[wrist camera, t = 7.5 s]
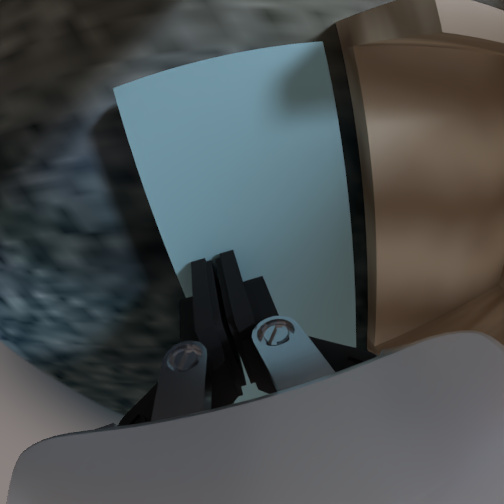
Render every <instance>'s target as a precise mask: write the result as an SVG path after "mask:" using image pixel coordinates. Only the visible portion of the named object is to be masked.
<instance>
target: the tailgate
mask: <svg viewBox="0 0 504 504" xmlns="http://www.w3.org/2000/svg"><path fill="white" fill-rule="evenodd" d="M113 90H114V94H115V98H116V101H117V105H118V108H119V112H120V115H121V118H122V122H123V125H124V128H125V132H126V135H127V138H128V141H129V145H130V148H131V151H132V154H133V157H134V160H135V163H136V166H137V169H138V172H139V175H140V178H141V181H142V184H143V187H144V190H145V193H146V196H147V199H148V201H149V204H150V207H151V210H152V213H153V215H154V218H155V221H156V223H157V226H158V229H159V231H160V234H161V237H162V239H163V242H164V245H165V247H166V250H167V252H168V255H169V257H170V260H171V263H172V265H173V268H174V270H175V273H176V275H177V277H178V280H179V282H180V285H181V287H182V290H183V292H184V294H185V297H186V298H188V297H192V296H193V294H192V275H191V262H193V261H196V260H200V259H203V258H205V259H206V261H209V260H211V261H212V263H213V266H214V269H215V272H216V275H217V278H218V281H219V277H218V271H217V266H216V260H215V259H216V258H220V253H223V252H227V251H230V250H234V254H235V257H236V260H237V264H238V267H239V270H240V273H241V277H242V280H243V281H247V280H250V279H253V278H257V277H260V276H263V278H264V280H265V283H266V285H267V288H268V290H269V293H270V295H271V297H272V300H273V302H274V305H275V307H276V309H277V312H278V314H279V316H280V315H281V316H288V317H290V318H293V319H294V320H295V321H296V322H298V324H299V325H300V326H301V328H302V329H303V330H304V332H305V333H306V334H307V336H311V337H314V338H318V339H322V340H326V341H330V342H334V343H338V344H342V345H346V346H350V347H355V348H356V303H355V277H354V258H353V243H352V230H351V218H350V208H349V198H348V189H347V180H346V172H345V164H344V156H343V149H342V142H341V135H340V129H339V122H338V116H337V110H336V105H335V99H334V94H333V88H332V83H331V78H330V73H329V68H328V63H327V59H326V54H325V50H324V45H323V41H320V42H309V43H299V44H290V45H282V46H275V47H268V48H262V49H256V50H250V51H244V52H239V53H234V54H229V55H224V56H220V57H215V58H211V59H207V60H202V61H198V62H195V63H191V64H187V65H183V66H180V67H176V68H172V69H169V70H166V71H162V72H159V73H156V74H153V75H150V76H147V77H144V78H141V79H138V80H135V81H132V82H129V83H126V84H123V85H121V86H118V87H115V88H113ZM219 284H220V282H219ZM240 358H241V357H240ZM241 363H242V367H243V371H244V376H245V380H246V385H245V386H241V388H242V392H243V395H242V396H238V398H237V399H236V400H235V401H234V403H239V402H243V401H247V400H250V399H254V398H258V397H261V396H265V395H268V393H265V392H263V391H260V390H258V388H257V385H256V383H252V384H251V383H250V380H249V378H248V375H247V373H246V370H245V367H244V365H243V362H242V360H241Z"/></svg>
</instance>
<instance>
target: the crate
mask: <svg viewBox="0 0 504 504" xmlns="http://www.w3.org/2000/svg"><path fill="white" fill-rule="evenodd" d="M335 23H336V27H337V31H338V35H339V40H340V44H341V48H342V53H343V58H344V63H345V68H346V73H347V78H348V83H349V89H350V94H351V100H352V106H353V113H354V119H355V126H356V133H357V141H358V148H359V157H360V166H361V175H362V185H363V197H364V209H365V224H366V243H367V272H368V328H367V349H368V351H369V352H372V353H374V354H380V353H381V350H382V349H387V348H391V347H396V346H400V345H405V344H409V343H412V342H415V341H418V340H421V339H424V338H427V337H430V336H434V335H438V334H442V333H447V332H454V331H465V330H470V331H479V332H483V333H485V334H487V335H489V336H491V337H493V338H494V339H496V340H497V341H498V342H500V343H501V344H502V345H503V346H504V11H503V10H500V9H497V8H495V7H492V6H489V5H486V4H482V3H479V2H476V1H472V0H396V1H393V2H390V3H387V4H384V5H381V6H378V7H375V8H372V9H369V10H366V11H364V12H361V13H358V14H356V15H353V16H350V17H348V18H345V19H343V20H340V21H338V22H335Z"/></svg>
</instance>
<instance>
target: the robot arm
mask: <svg viewBox="0 0 504 504" xmlns="http://www.w3.org/2000/svg"><path fill="white" fill-rule="evenodd" d="M215 260H216V266H217V271H218V277H219V281H218V278H217V275H216V272H215V269H214V266H213V263H212V261H211V260H209V261H206V259H205V258H203V259H200V260H196V261H193V262H191V275H192V294H193V296H192V297H188V298H185V299H181V300H180V343H178V344H176V345H174V346H173V347H172V348H170V349H169V350H168V351H167V353H166V354H165V356H164V358H163V361H162V366H161V371H160V376H159V381H158V383H157V384H156V385H155V386H154V387H153V388H152V389H151V390H150V391H149V392H148V393H147V394H146V395H145V396H144V397H143V398H142V399H141V400H140V401H139V402H138V403H137V404H136V405H135V406H134V407H133V408H132V409H131V410H130V411H129V412H128V413H127V414H126V415H125V416H124V417H123V418H122V420H121V421H120V423H119V425H117V426H116V425H115V424H114V423H112V424H109V425H106V426H104V427H101V428H98V429H95V430H88V431H81V432H74V433H67V434H62V435H58V436H53V437H50V438H47V439H44V440H42V441H40V442H37V443H35V444H33V445H32V446H30V447H29V448H27V449H26V450H25V451H23V453H22V454H21V455H20V456H19V458H18V460H17V462H16V465H15V467H14V470H13V473H12V477H11V481H10V485H9V490H8V496H7V502H6V504H504V346H503V345H502V344H501V343H500V342H498V341H497V340H496V339H494V338H493V337H491V336H489V335H487V334H485V333H483V332H479V331H470V330H465V331H454V332H447V333H442V334H438V335H434V336H430V337H427V338H424V339H421V340H418V341H415V342H412V343H409V344H405V345H400V346H396V347H391V348H387V349H382V350H381V353H380V354H374V353H372V352H369V351H367V350H363V349H359V348H355V347H350V346H346V345H342V344H338V343H334V342H330V341H326V340H322V339H318V338H314V337H311V336H307V334H306V333H305V332H304V330H303V329H302V328H301V326H300V325H299V324H298V322H296V321H295V320H294V319H293V318H290V317H288V316H281V315H280V316H279V314H278V312H277V309H276V307H275V305H274V302H273V300H272V297H271V295H270V293H269V290H268V288H267V285H266V283H265V280H264V278H263V276H260V277H257V278H253V279H250V280H247V281H243V280H242V277H241V273H240V270H239V267H238V264H237V260H236V257H235V254H234V250H230V251H227V252H223V253H220V258H216V259H215ZM219 282H220V284H219ZM240 357H241V358H240ZM241 360H242V362H243V365H244V367H245V370H246V373H247V375H248V378H249V380H250V383H251V384H252V383H256V385H257V388H258V390H260V391H263V392H265V393H268V395H265V396H261V397H258V398H254V399H250V400H247V401H243V402H239V403H235V404H233V403H234V401H235V400H236V399H237V398H238V396H242V395H243V392H242V388H241V386H245V385H246V380H245V376H244V371H243V367H242V363H241Z"/></svg>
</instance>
